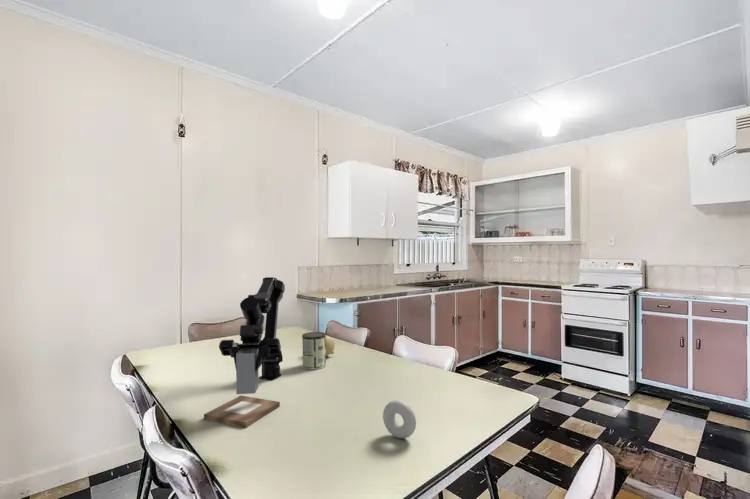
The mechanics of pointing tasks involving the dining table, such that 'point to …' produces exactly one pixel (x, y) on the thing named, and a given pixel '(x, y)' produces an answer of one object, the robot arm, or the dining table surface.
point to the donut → (406, 414)
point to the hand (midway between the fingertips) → (246, 371)
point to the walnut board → (242, 411)
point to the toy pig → (329, 345)
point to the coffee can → (314, 350)
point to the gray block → (246, 371)
